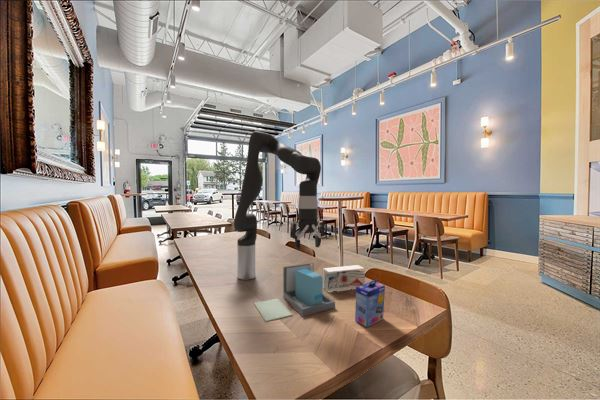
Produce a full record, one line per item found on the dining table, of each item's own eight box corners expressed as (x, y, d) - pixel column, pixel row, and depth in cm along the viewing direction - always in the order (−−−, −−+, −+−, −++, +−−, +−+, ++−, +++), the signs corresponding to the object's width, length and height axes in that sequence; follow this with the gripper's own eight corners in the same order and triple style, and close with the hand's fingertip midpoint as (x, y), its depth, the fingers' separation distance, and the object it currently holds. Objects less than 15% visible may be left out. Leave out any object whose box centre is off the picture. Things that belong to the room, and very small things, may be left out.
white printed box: (327, 292, 108) (328, 271, 108) (322, 288, 114) (323, 268, 114) (366, 287, 115) (367, 267, 115) (360, 283, 120) (360, 264, 120)
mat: (253, 303, 97) (253, 302, 97) (277, 299, 101) (277, 298, 101) (265, 321, 83) (265, 320, 83) (292, 315, 88) (292, 314, 88)
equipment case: (283, 297, 103) (283, 266, 103) (312, 291, 110) (312, 262, 109) (302, 316, 87) (302, 280, 87) (335, 308, 93) (335, 274, 93)
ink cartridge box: (367, 328, 80) (368, 284, 79) (354, 321, 84) (354, 279, 84) (385, 319, 86) (385, 278, 85) (371, 312, 90) (372, 274, 90)
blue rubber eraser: (322, 306, 95) (322, 275, 94) (313, 309, 92) (313, 277, 92) (303, 295, 104) (303, 267, 104) (295, 298, 101) (295, 269, 101)
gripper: (318, 206, 103) (318, 244, 104) (287, 207, 97) (287, 247, 97) (328, 207, 96) (328, 248, 97) (295, 208, 90) (295, 251, 91)
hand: (307, 248), depth 97 cm, fingers open, 8 cm apart
